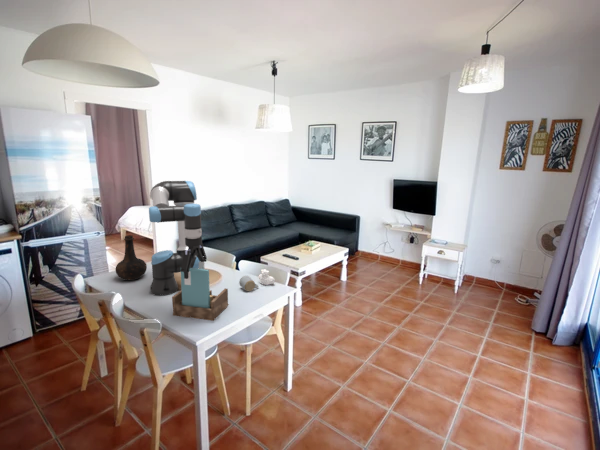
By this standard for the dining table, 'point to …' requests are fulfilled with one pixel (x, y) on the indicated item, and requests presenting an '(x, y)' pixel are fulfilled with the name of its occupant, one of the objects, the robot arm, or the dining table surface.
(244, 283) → the ceramic mug
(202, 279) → the teal sheet
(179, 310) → the walnut rack
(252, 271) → the dining table surface
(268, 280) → the white lumpy piece
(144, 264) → the glass bottle
